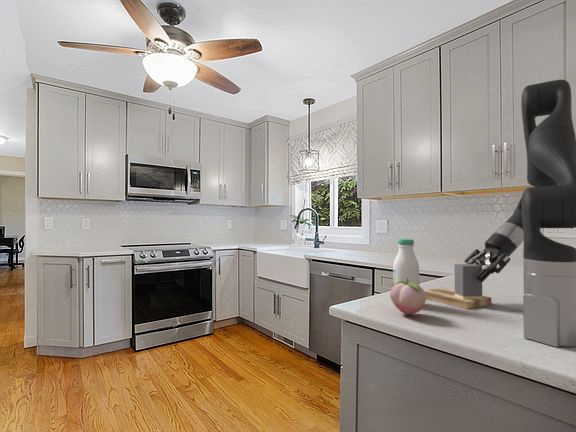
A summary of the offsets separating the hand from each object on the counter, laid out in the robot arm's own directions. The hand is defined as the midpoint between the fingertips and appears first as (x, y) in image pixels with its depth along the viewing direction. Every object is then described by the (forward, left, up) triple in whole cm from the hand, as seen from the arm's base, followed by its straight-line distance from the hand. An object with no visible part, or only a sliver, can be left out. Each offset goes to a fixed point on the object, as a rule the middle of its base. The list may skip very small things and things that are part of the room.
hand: (469, 277), depth 100 cm
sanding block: (-1, 0, -6) cm, 6 cm away
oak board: (-1, +5, -8) cm, 10 cm away
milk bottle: (-18, +9, -8) cm, 22 cm away
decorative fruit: (-27, 0, -8) cm, 28 cm away
